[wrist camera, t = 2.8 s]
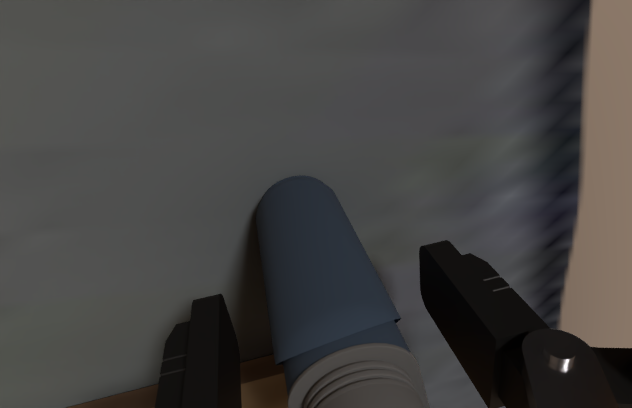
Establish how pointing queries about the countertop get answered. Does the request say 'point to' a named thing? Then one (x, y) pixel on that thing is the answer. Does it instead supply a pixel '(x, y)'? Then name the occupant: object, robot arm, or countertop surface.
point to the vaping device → (330, 306)
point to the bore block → (256, 389)
